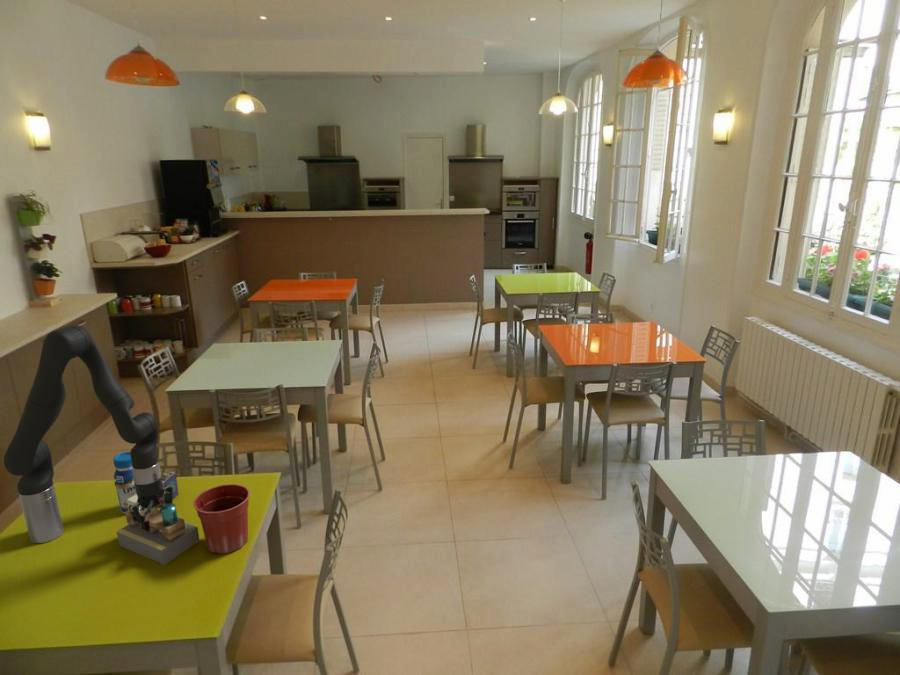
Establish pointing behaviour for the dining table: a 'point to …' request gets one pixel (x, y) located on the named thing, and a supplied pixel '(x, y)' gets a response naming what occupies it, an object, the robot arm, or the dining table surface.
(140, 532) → the dock
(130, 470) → the beverage bottle
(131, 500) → the white cube
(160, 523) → the pallet
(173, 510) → the teal canister
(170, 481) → the flask
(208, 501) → the flower pot
